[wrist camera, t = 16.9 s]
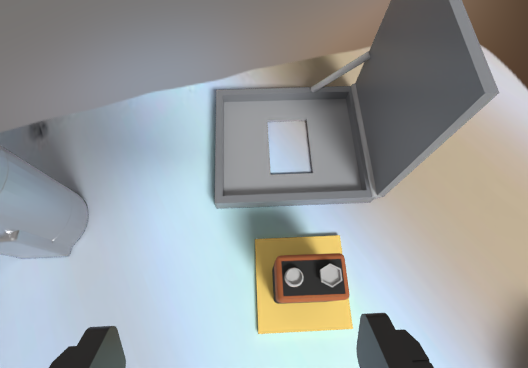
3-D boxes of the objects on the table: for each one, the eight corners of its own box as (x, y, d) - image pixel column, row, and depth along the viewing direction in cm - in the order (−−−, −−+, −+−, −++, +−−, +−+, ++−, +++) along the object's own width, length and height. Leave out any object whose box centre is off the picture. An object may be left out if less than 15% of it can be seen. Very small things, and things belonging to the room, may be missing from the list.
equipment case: (377, 202, 42) (499, 92, 21) (216, 208, 42) (172, 102, 20) (356, 95, 49) (432, -72, 28) (218, 99, 48) (185, -69, 27)
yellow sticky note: (351, 328, 36) (352, 328, 36) (258, 333, 36) (258, 333, 36) (338, 236, 41) (339, 235, 40) (255, 240, 40) (255, 239, 40)
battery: (330, 301, 37) (354, 299, 28) (273, 304, 37) (278, 302, 27) (325, 264, 39) (347, 250, 29) (271, 266, 38) (275, 253, 29)
